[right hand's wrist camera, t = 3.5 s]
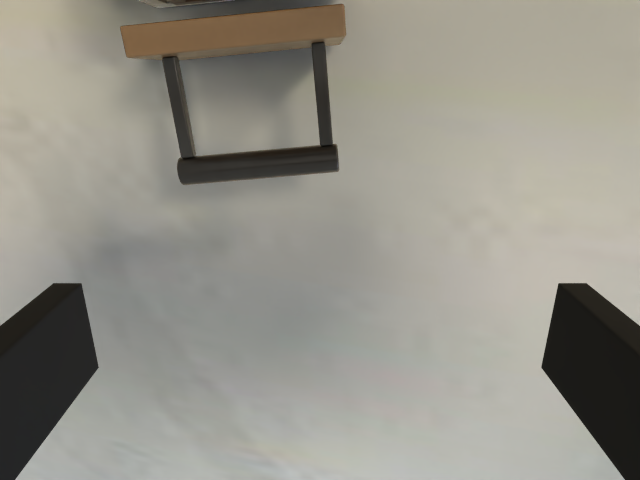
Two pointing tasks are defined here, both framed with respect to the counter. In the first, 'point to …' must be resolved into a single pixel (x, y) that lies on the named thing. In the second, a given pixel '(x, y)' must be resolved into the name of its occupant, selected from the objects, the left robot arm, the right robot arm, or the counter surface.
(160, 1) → the cabinet
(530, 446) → the counter surface
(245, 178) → the drawer
